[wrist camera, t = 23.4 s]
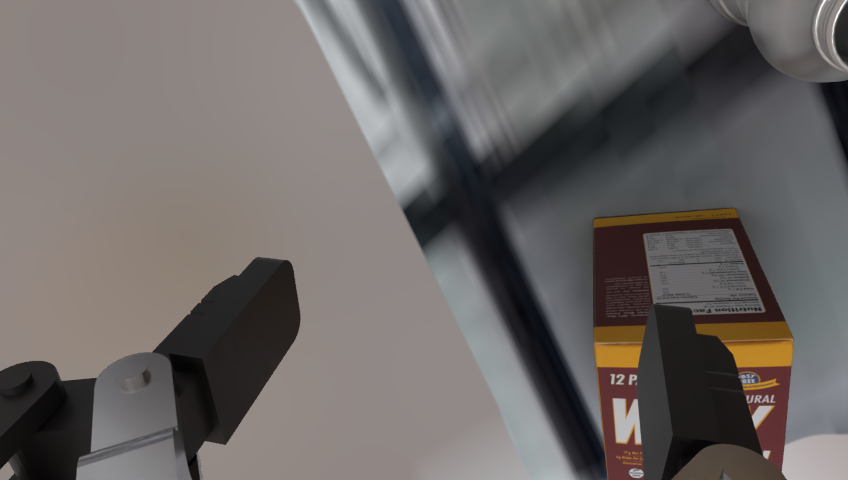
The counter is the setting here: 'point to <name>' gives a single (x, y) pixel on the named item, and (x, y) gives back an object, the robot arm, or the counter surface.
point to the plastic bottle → (796, 34)
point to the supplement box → (712, 311)
